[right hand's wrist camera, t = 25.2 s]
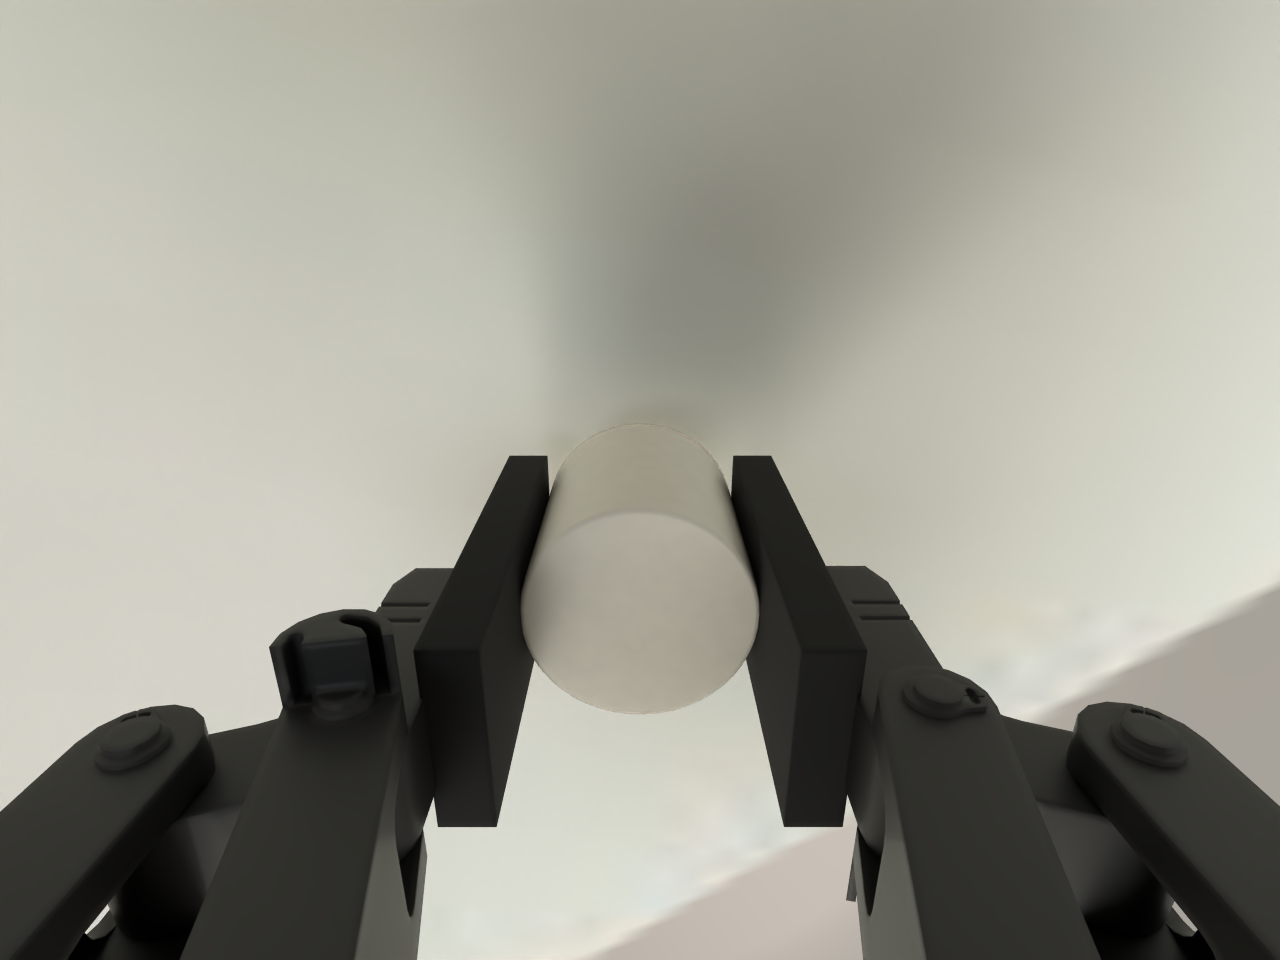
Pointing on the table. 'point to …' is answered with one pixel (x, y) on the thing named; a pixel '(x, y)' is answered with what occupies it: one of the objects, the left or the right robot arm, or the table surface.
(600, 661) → the can
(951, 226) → the table surface
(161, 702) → the table surface
